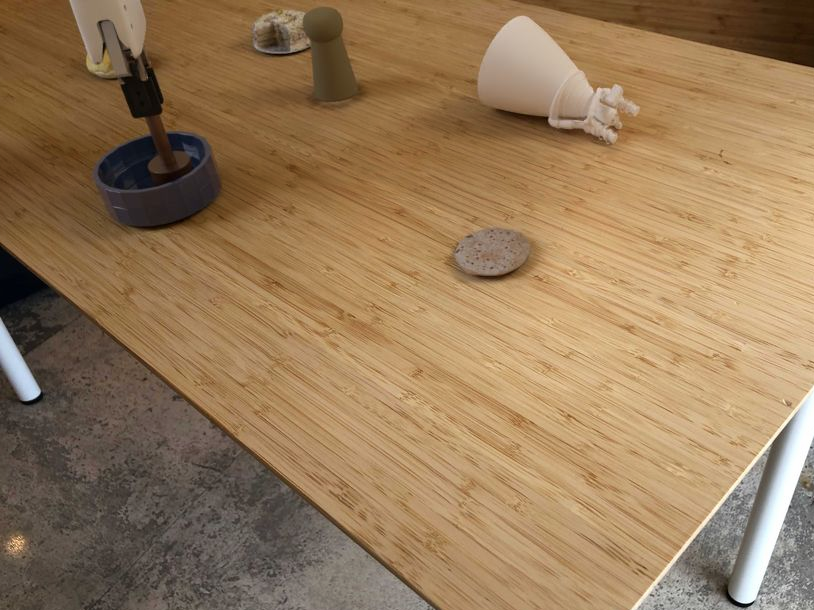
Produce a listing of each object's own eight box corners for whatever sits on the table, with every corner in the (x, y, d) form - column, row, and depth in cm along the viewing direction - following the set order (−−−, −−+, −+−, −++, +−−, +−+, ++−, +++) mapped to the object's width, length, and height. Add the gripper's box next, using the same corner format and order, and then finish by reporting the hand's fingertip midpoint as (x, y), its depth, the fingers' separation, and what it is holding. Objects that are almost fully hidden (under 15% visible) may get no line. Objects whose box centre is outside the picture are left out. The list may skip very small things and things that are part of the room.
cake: (267, 32, 134) (260, -4, 131) (327, 33, 132) (322, -3, 129) (242, 54, 126) (234, 18, 123) (305, 56, 125) (299, 19, 121)
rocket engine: (648, 62, 93) (518, -3, 99) (590, 153, 94) (465, 83, 101) (661, 101, 104) (543, 41, 110) (609, 182, 105) (495, 118, 111)
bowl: (103, 239, 94) (85, 201, 91) (114, 178, 104) (99, 142, 100) (222, 218, 95) (209, 179, 92) (223, 159, 105) (211, 123, 101)
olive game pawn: (306, 99, 115) (288, 18, 107) (326, 79, 119) (310, 0, 111) (346, 103, 113) (330, 21, 106) (365, 82, 117) (351, 2, 110)
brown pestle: (155, 199, 97) (106, 74, 86) (157, 177, 100) (110, 55, 90) (197, 191, 97) (153, 66, 87) (198, 170, 101) (156, 47, 90)
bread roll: (128, 50, 132) (119, 24, 129) (156, 65, 127) (147, 39, 124) (79, 69, 128) (68, 43, 125) (106, 85, 123) (96, 59, 120)
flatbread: (475, 226, 90) (474, 218, 89) (542, 240, 87) (541, 232, 86) (441, 271, 85) (440, 263, 84) (510, 288, 82) (510, 280, 81)
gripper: (54, -88, 85) (121, 84, 98) (27, -36, 74) (106, 151, 86) (130, -99, 86) (186, 73, 98) (115, -49, 74) (180, 139, 87)
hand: (148, 109), depth 92 cm, fingers closed on brown pestle
